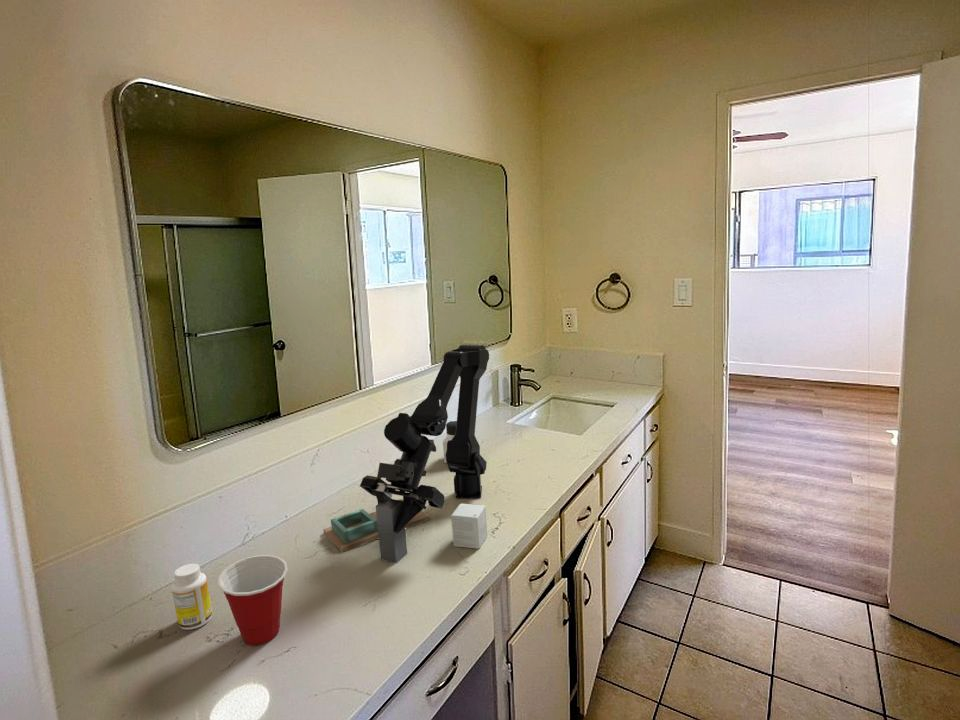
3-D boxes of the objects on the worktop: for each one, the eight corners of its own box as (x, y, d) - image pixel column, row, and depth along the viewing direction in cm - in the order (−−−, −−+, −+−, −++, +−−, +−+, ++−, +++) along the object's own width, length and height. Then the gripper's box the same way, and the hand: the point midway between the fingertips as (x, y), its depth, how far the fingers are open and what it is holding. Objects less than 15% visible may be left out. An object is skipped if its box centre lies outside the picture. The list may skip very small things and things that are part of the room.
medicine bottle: (467, 463, 167) (464, 425, 164) (444, 463, 168) (441, 425, 166) (472, 455, 174) (469, 418, 171) (449, 454, 175) (447, 418, 173)
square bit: (392, 549, 120) (387, 498, 118) (407, 553, 118) (402, 501, 116) (380, 559, 117) (375, 506, 114) (396, 563, 115) (391, 509, 113)
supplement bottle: (204, 607, 103) (196, 557, 102) (218, 618, 100) (210, 567, 98) (173, 623, 99) (163, 571, 97) (186, 636, 96) (176, 582, 94)
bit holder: (407, 504, 142) (406, 491, 141) (429, 519, 133) (428, 505, 132) (323, 533, 129) (322, 519, 128) (342, 552, 120) (340, 537, 120)
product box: (488, 535, 124) (486, 505, 122) (479, 550, 118) (477, 518, 117) (462, 532, 126) (460, 502, 124) (452, 546, 120) (450, 515, 119)
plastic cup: (255, 666, 88) (244, 597, 85) (214, 644, 93) (203, 579, 91) (309, 625, 97) (300, 563, 94) (268, 607, 102) (260, 548, 100)
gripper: (360, 440, 121) (331, 509, 113) (433, 450, 112) (406, 525, 105) (386, 462, 129) (359, 527, 122) (455, 472, 120) (431, 543, 113)
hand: (387, 530), depth 115 cm, fingers closed on square bit, 4 cm apart
